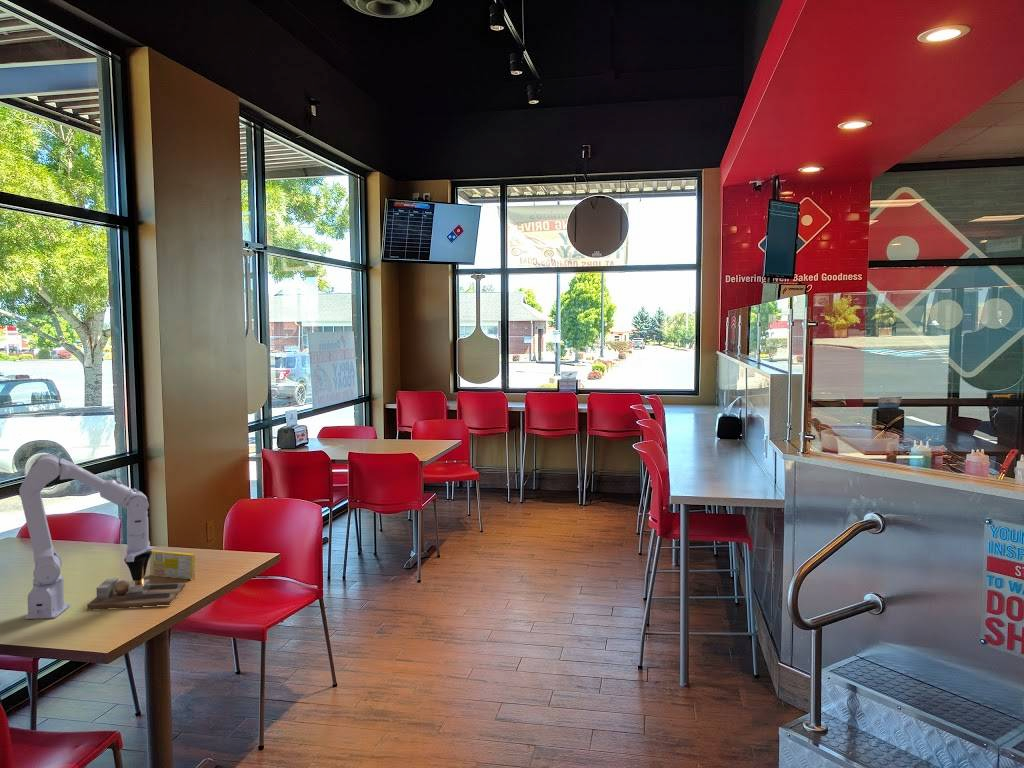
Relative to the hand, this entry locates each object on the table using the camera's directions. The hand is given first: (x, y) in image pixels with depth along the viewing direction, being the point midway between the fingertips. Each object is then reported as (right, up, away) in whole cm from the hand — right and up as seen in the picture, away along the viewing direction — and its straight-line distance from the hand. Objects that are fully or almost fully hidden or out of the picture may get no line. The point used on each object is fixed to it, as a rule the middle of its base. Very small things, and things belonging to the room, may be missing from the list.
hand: (138, 578), depth 217 cm
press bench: (0, -6, 0) cm, 6 cm away
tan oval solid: (-5, -3, -1) cm, 5 cm away
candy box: (+1, -5, +20) cm, 20 cm away
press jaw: (0, -4, 0) cm, 4 cm away
